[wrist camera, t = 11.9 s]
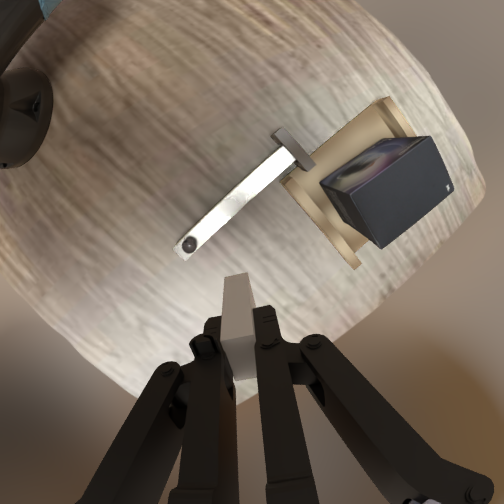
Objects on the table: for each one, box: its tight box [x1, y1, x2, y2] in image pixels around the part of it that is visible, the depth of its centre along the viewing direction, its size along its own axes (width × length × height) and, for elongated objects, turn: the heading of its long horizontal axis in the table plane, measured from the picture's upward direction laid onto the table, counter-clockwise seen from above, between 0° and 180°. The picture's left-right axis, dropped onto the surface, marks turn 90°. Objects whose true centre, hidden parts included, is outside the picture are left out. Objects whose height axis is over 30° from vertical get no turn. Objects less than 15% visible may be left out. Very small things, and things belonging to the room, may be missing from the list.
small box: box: [319, 136, 454, 249], centre depth 26 cm, size 11×6×10 cm, turn 127°
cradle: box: [271, 96, 417, 270], centre depth 29 cm, size 18×16×4 cm
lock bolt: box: [172, 145, 296, 261], centre depth 30 cm, size 2×18×3 cm, turn 132°
